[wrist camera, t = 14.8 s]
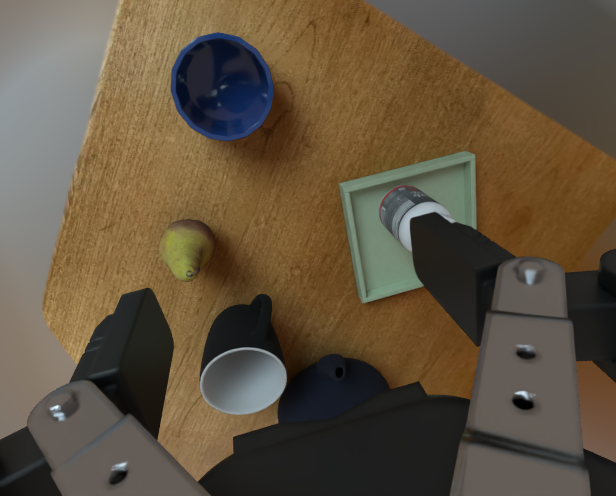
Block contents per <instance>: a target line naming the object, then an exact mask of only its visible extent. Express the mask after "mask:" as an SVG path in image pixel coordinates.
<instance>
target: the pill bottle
mask: <svg viewBox="0 0 616 496" xmlns="http://www.w3.org/2000/svg"><path fill="white" fill-rule="evenodd" d="M378 212H379V218H380V221H381V222H382V224H383V225H384V226H385V228H386V229H387V230H388V231H389V232H390V233H391V234H392V235H393V236H394V237H395V238H396V239H397V240H398V241H399V242H400V244H401V245H402V246H403V247H404V248H406V249H407V250H408V251H410V252H411V253H412V246H411V236H410V219H411V218H412V217H416V216H420V215H424V214H427V213H431V212H437V213H438V214H440V215H441V216H442V217H444V218H445V219H447V220H448V221H449V222H451V223H454V222H456V221H455V220H454V219H453V218H452V217H451V214H450V213H449V211H448V210H447V209H446V208H445V207H444V206H443V205H441V204H440V203H438V202H437V201H435V200H434V199H432V198H431V197H429V196H428V195H427V194H425V193H424V192H422V191H421V190H419V189H418V188H416V187H414V186H411V185H400V186H396V187H394V188H392V189H391V190H389V191H388V192H387V193H386V194H385V195H384V197H383V198H382V200H381V202H380V205H379V211H378Z"/></svg>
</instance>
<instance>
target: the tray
mask: <svg viewBox="0 0 616 496" xmlns="http://www.w3.org/2000/svg"><path fill="white" fill-rule="evenodd" d="M400 185H411V186H414V187H416V188H418V189H419V190H421V191H422V192H424V193H425V194H427V195H428V196H429V197H431V198H432V199H434V200H435V201H437V202H438V203H440V204H441V205H443V206H444V207H445V208H446V209H447V210H448V211H449V213H450V214H451V217H452V218H453V219H454V220H455V221H456V222H457V223H461V224H464V225H468V226H471V227H473V228H474V229H476V172H475V154H472V153H470V152H467V151H463V152H460V153H456V154H452V155H448V156H444V157H440V158H436V159H432V160H428V161H425V162H421V163H417V164H413V165H409V166H405V167H401V168H397V169H393V170H390V171H386V172H382V173H378V174H374V175H370V176H366V177H362V178H358V179H355V180H351V181H347V182H343V183H339V188H340V194H341V199H342V205H343V211H344V216H345V222H346V228H347V234H348V239H349V245H350V251H351V256H352V262H353V268H354V273H355V279H356V285H357V290H358V295H359V297H360V299H361V301H362V303H366V302H370V301H373V300H377V299H381V298H384V297H388V296H391V295H395V294H398V293H402V292H405V291H409V290H413V289H416V288H420V287H423V286H424V285H423V284H422V283H421V282H420V280H419V279H418V277H417V275H416V272H415V269H414V265H413V256H412V253H411V252H410V251H408V250H407V249H406V248H404V247H403V246H402V245H401V244H400V242H399V241H398V240H397V239H396V238H395V237H394V236H393V235H392V234H391V233H390V232H389V231H388V230H387V229H386V228H385V226H384V225H383V224H382V222H381V221H380V218H379V212H378V211H379V205H380V202H381V200H382V198H383V197H384V195H385V194H386V193H387V192H388V191H389V190H391V189H392V188H394V187H396V186H400Z"/></svg>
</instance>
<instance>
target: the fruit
mask: <svg viewBox="0 0 616 496" xmlns="http://www.w3.org/2000/svg"><path fill="white" fill-rule="evenodd" d="M214 248H215V238H214V235H213V233H212V232H211V230H210V229H209V228H208V226H207V225H206V224H204V223H203V222H201V221H197V220H189V219H186V220H180V221H177V222H174V223H172V224H171V225H169V227H168V228H167V229H166V231H165V233H164V235H163V237H162V239H161V242H160V246H159V254H160V257H161V258H162V260H163V262H164V263H165V264H166V265H167V266H169V268H170V270H171V271H172V273H173V275H174V276H175V277H176V278H177V279H179V280H181V281H183V282H190V281H192V280H194V279H195V277H196V276H197V274H198V272H199V271H200V269H201V268H202V267H204V266H205V265H206V264H207V262H208V261H209V260H210V258H211V257H212V255H213V252H214Z"/></svg>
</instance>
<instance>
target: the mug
mask: <svg viewBox="0 0 616 496" xmlns="http://www.w3.org/2000/svg"><path fill="white" fill-rule="evenodd" d="M260 309H261V311H260ZM271 313H272V301H271V299H270V297H269V296H268V295H266V294H259V295H257V296H256V297H255V298H254V300H253V301H252V303H251V304H250V305H235V306H231V307H229V308H227V309H225V310H224V311H222V312H221V313H220V314H219V315H218V316H217V318H216V319H215V320H214V322H213V324H212V326H211V328H210V331H209V334H208V337H207V340H206V344H205V348H204V353H203V358H202V363H201V371H200V390H201V393H202V396H203V397H204V399H205V400H206V402H207V403H208V404H209V405H211V406H212V407H213V408H215V409H217V410H219V411H221V412H224V413H228V414H234V415H244V414H251V413H255V412H258V411H261V410H263V409H265V408H267V407H268V406H270V405H271V404H273V403H274V402H275V401H276V400H277V399H278V398H279V397H280V396H281V394H282V393H283V391H284V389H285V386H286V383H287V370H286V365H285V360H284V357H283V353H282V350H281V347H280V343H279V341H278V338H277V335H276V333H275V330H274V328H273V326H272V324H271V322H270V319H271Z"/></svg>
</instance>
